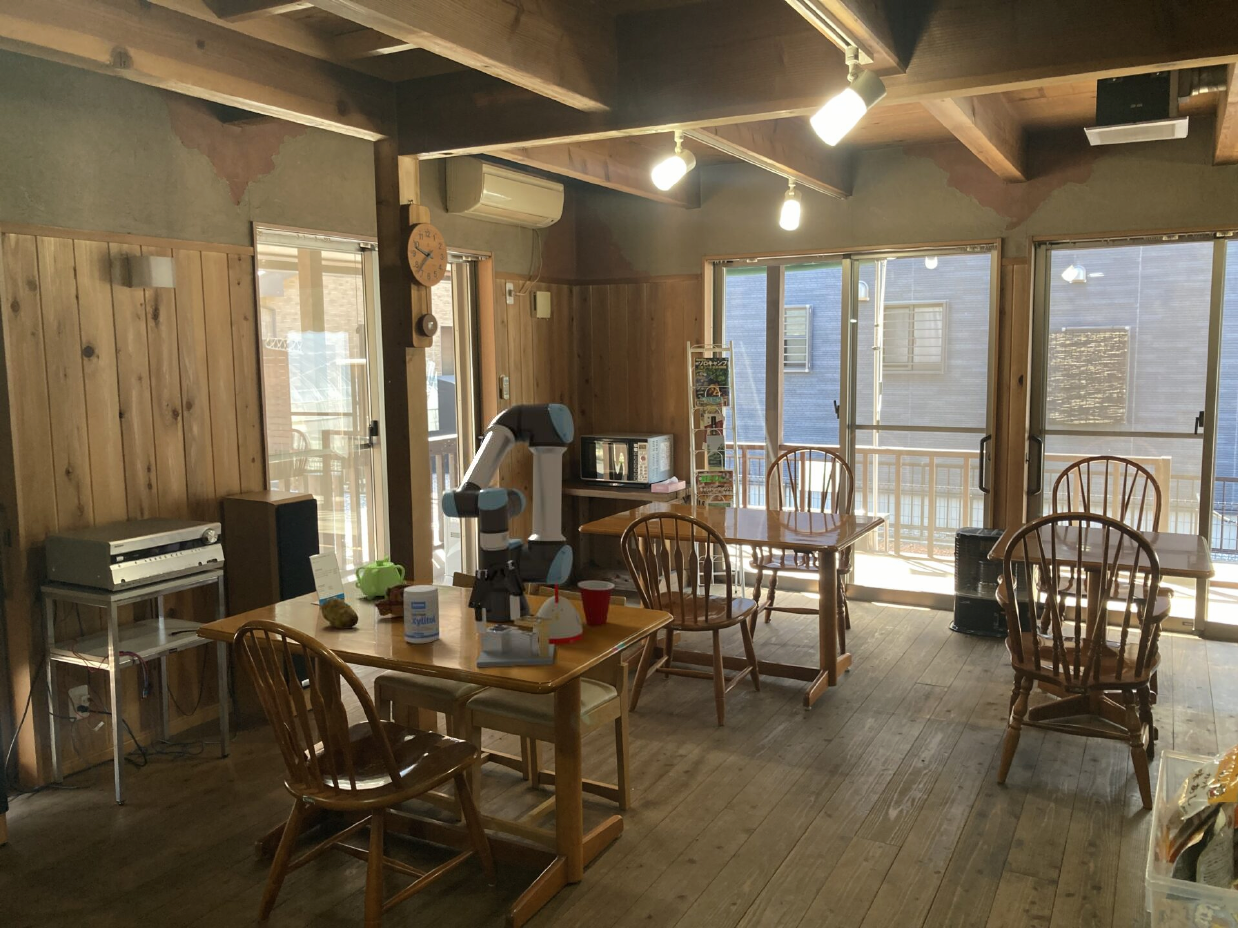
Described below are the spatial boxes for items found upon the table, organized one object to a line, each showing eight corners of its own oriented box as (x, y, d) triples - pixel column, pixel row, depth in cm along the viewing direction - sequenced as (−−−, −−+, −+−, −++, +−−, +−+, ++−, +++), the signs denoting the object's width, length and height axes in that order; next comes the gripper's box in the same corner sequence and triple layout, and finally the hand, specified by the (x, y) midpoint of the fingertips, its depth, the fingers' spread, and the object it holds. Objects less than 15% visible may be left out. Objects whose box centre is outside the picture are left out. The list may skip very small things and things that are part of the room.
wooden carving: (377, 621, 290) (376, 589, 290) (374, 618, 295) (373, 586, 294) (431, 614, 298) (429, 582, 297) (427, 611, 302) (426, 580, 301)
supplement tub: (413, 646, 262) (411, 593, 260) (399, 639, 269) (396, 588, 268) (446, 639, 268) (443, 588, 266) (430, 633, 275) (428, 582, 274)
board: (483, 650, 256) (483, 646, 256) (554, 648, 256) (554, 643, 256) (476, 666, 241) (476, 662, 241) (552, 664, 242) (552, 659, 242)
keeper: (528, 650, 251) (527, 615, 250) (555, 655, 246) (554, 619, 245) (515, 655, 246) (514, 619, 246) (543, 660, 241) (542, 623, 241)
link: (481, 650, 252) (480, 630, 251) (499, 644, 257) (498, 624, 257) (525, 658, 243) (525, 637, 243) (543, 651, 249) (542, 631, 248)
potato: (333, 633, 278) (331, 605, 277) (319, 624, 289) (317, 598, 288) (361, 628, 283) (359, 601, 282) (346, 619, 293) (344, 594, 293)
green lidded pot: (350, 595, 327) (348, 559, 326) (389, 589, 336) (387, 553, 335) (370, 603, 314) (368, 565, 313) (410, 596, 323) (408, 559, 322)
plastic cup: (616, 627, 276) (615, 586, 275) (579, 628, 276) (577, 587, 275) (614, 617, 287) (613, 578, 286) (578, 619, 287) (577, 579, 286)
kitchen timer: (532, 645, 260) (530, 591, 259) (533, 632, 274) (531, 580, 272) (583, 643, 261) (582, 589, 260) (582, 630, 275) (580, 578, 273)
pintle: (495, 647, 254) (494, 624, 253) (503, 647, 254) (502, 623, 253) (494, 650, 252) (493, 626, 251) (502, 649, 252) (501, 625, 251)
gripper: (473, 557, 238) (478, 640, 241) (536, 539, 259) (539, 616, 261) (451, 555, 242) (455, 636, 245) (514, 537, 263) (518, 612, 265)
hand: (499, 626), depth 253 cm, fingers open, 13 cm apart
